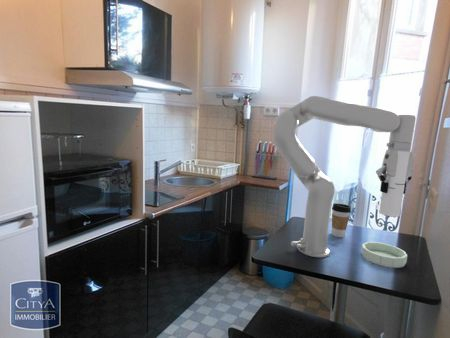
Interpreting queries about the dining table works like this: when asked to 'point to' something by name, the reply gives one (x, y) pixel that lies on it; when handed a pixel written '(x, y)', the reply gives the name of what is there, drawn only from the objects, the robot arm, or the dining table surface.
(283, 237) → the dining table surface
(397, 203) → the cylindrical container
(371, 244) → the dish
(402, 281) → the dining table surface
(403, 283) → the dining table surface
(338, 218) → the coffee cup
